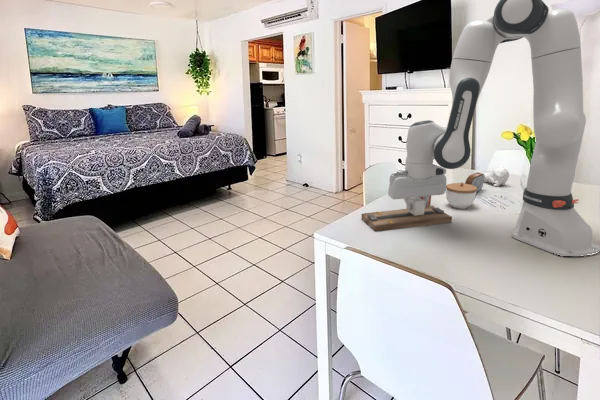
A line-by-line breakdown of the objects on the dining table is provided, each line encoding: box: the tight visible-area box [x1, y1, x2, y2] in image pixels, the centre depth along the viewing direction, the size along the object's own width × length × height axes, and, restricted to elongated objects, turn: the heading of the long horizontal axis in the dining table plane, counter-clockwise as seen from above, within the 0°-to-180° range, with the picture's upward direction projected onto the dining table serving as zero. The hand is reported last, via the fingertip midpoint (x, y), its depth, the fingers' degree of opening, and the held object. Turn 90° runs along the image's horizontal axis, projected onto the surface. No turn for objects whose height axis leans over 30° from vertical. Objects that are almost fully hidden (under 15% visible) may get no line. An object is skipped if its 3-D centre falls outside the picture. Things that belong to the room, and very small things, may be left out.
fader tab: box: [408, 197, 425, 216], centre depth 126 cm, size 5×4×5 cm
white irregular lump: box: [483, 167, 510, 188], centre depth 165 cm, size 6×8×12 cm
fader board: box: [361, 205, 453, 232], centre depth 126 cm, size 12×28×3 cm, turn 103°
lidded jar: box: [445, 181, 477, 210], centre depth 138 cm, size 11×11×9 cm
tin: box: [464, 172, 485, 194], centre depth 154 cm, size 15×3×8 cm, turn 133°
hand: (415, 208), depth 126 cm, fingers closed on fader tab, 3 cm apart
